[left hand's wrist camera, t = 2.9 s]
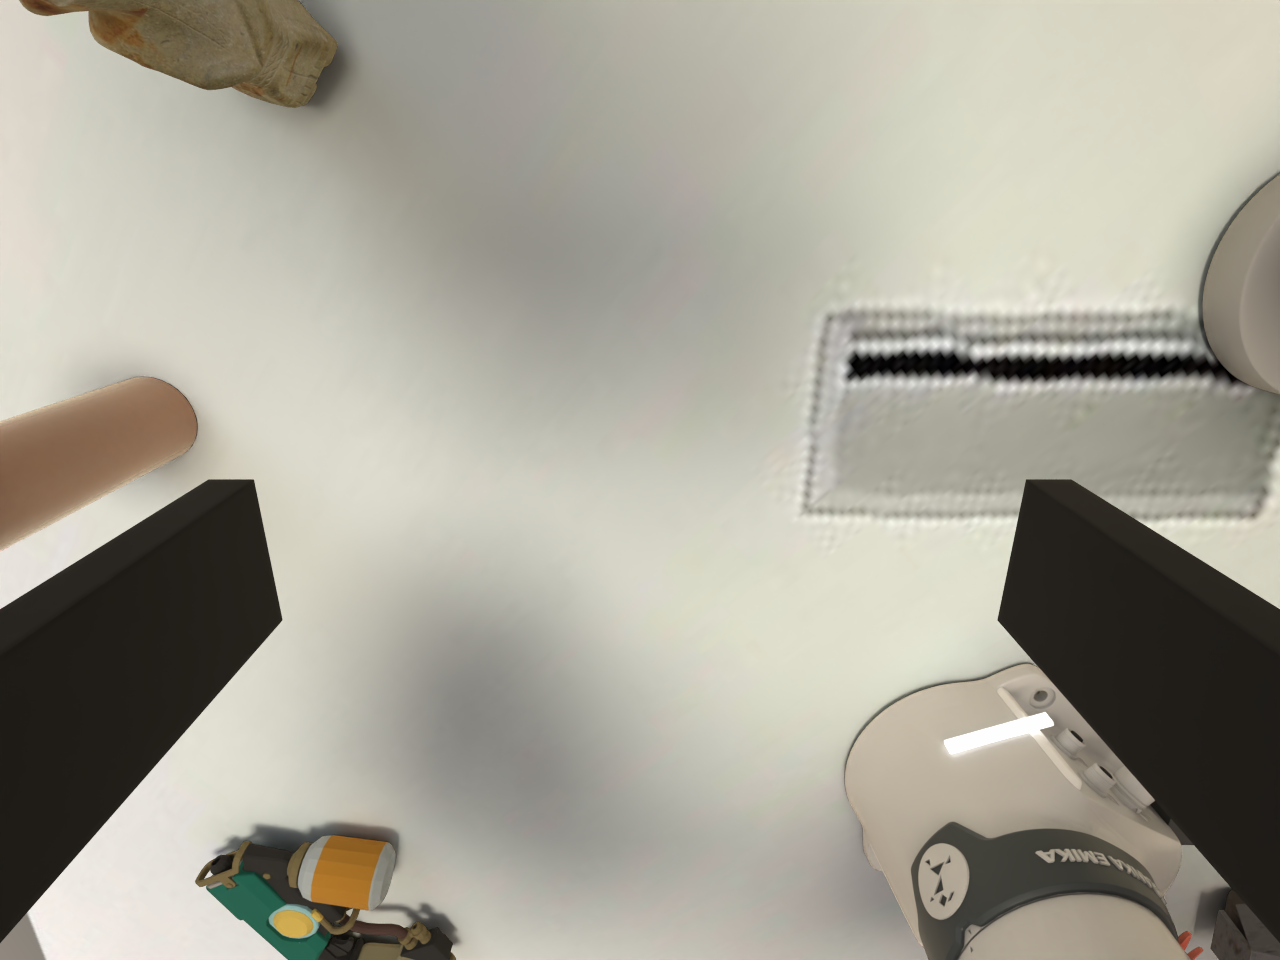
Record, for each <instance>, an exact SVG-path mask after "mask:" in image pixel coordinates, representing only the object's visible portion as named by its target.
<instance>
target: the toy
mask: <svg viewBox="0 0 1280 960" xmlns="http://www.w3.org/2000/svg"><path fill="white" fill-rule="evenodd" d="M1211 949H1212V951H1213V952H1214V953H1215V955H1216V956H1217V957H1218V959H1219V960H1280V943H1279V942H1278V940H1277V939H1276V938H1275V937H1274V936H1273V935H1272V934H1271V932H1270V931H1269V930H1268V929H1267V928H1266V927H1265V926H1264V924H1263V923H1262V922H1261V921H1260V920H1259V919H1258V918H1257V916H1256V915H1255V914H1254V913H1253V912H1252V911H1251V910H1250V908H1249V907H1248V906H1247V905H1246V904H1245V903H1244V902H1243V900H1242V899H1241V898H1240V897H1239V896H1238V895H1237V894H1236V892H1235V891H1234V890H1231V891H1230V892H1229V894H1228V896H1227V901H1226V906H1225V911H1224V910H1218V915H1217V920H1216V925H1215V930H1214V935H1213V939H1212V944H1211Z"/></svg>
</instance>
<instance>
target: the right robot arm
mask: <svg viewBox="0 0 1280 960" xmlns="http://www.w3.org/2000/svg"><path fill="white" fill-rule="evenodd" d="M1038 691H1040V692H1039V693H1038V694H1035V693H1037V692H1038ZM845 788H846V793H847V797H848V800H849V802H850V805H851V807H852V809H853V810H854V812H855V814H856V815H857V817H858V819H859V821H860V822H861V824H862V827H863V848H864V852H865V855H866V857H867V859H868V861H869V863H870V865H871V866H872V867H873V868H874V869H876V870H878V871H882V872H883V873H884V875H885V877H886V879H887V881H888V883H889V885H890V887H891V889H892V891H893V893H894V895H895V898H896V900H897V902H898V904H899V906H900V908H901V910H902V912H903V914H904V916H905V918H906V920H907V922H908V924H909V926H910V928H911V930H912V932H913V934H914V936H915V938H916V939H917V941H918V942H919V943H920V945H921V946H922V947H924V949H925V951H926V954H927V956H928V959H929V960H1194V959H1195V958H1196V957H1197V956H1198V955H1199V954H1200V953H1201V952H1202V951H1203V949H1202V948H1201V947H1198V948H1196V949H1194V950H1192V951H1191V952H1189V953H1188V954H1186V952H1185V951H1184V950H1185V948H1186V946H1187V945H1188V943H1189V941H1190V939H1191V937H1192V935H1191V933H1190V932H1188V931H1186V932H1184V933H1182V934H1181V935H1180V936H1179V937H1178V935H1177V932H1176V929H1175V926H1174V924H1173V921H1172V919H1171V917H1170V914H1169V912H1168V910H1167V908H1166V904H1167V903H1166V901H1165V900H1164V898H1163V896H1164V895H1165V893H1166V892H1167V890H1168V889H1169V887H1170V886H1171V884H1172V883H1173V881H1174V879H1175V877H1176V876H1177V873H1178V871H1179V868H1180V864H1181V859H1182V848H1181V845H1194V844H1193V843H1192V842H1191V841H1190V840H1189V839H1188V837H1187V836H1186V835H1185V834H1184V833H1183V832H1182V831H1181V829H1180V828H1179V827H1178V826H1177V825H1176V824H1175V823H1174V821H1173V820H1172V819H1171V818H1170V817H1169V816H1168V815H1167V813H1166V812H1165V811H1164V810H1163V809H1162V808H1161V807H1160V805H1159V804H1158V803H1157V802H1156V801H1155V800H1154V799H1153V797H1152V796H1151V795H1150V794H1149V793H1148V792H1147V791H1146V789H1145V788H1144V787H1143V786H1142V785H1141V784H1140V783H1139V781H1138V780H1137V779H1136V778H1135V777H1134V776H1133V775H1132V773H1131V772H1130V771H1129V770H1128V769H1127V768H1126V767H1125V765H1124V764H1123V763H1122V762H1121V761H1120V760H1119V759H1118V757H1117V756H1116V755H1115V754H1114V753H1113V752H1112V751H1111V749H1110V748H1109V747H1108V746H1107V745H1106V744H1105V743H1104V741H1103V740H1102V739H1101V738H1100V737H1099V736H1098V735H1097V733H1096V732H1095V731H1094V730H1093V729H1092V728H1091V727H1090V725H1089V724H1088V723H1087V722H1086V721H1085V720H1084V719H1083V717H1082V716H1081V715H1080V714H1079V713H1078V712H1077V711H1076V709H1075V708H1074V707H1073V706H1072V705H1071V704H1070V702H1069V701H1068V700H1067V699H1066V698H1065V697H1064V696H1063V694H1062V693H1061V692H1060V691H1059V690H1058V689H1057V688H1056V686H1055V685H1054V684H1053V683H1052V682H1051V681H1050V680H1049V678H1048V677H1047V676H1046V675H1045V674H1044V673H1043V672H1042V670H1041V669H1040V668H1038V667H1037V666H1035V665H1032V664H1021V665H1017V666H1014V667H1011V668H1008V669H1006V670H1003V671H1001V672H999V673H996V674H994V675H992V676H990V677H988V678H985V679H981V680H977V681H970V682H959V683H950V684H944V685H939V686H935V687H931V688H927V689H924V690H921V691H919V692H916V693H914V694H911V695H909V696H907V697H905V698H903V699H901V700H899V701H897V702H896V703H894V704H893V705H891V706H889V707H888V708H887V709H885V710H884V711H883V712H881V713H880V714H879V715H878V716H877V717H876V718H874V719H873V720H872V721H871V722H870V723H869V724H868V726H867V727H866V728H865V729H864V730H863V731H862V733H861V734H860V736H859V737H858V739H857V740H856V742H855V744H854V746H853V748H852V750H851V752H850V754H849V757H848V760H847V764H846V770H845Z"/></svg>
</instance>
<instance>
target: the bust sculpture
mask: <svg viewBox="0 0 1280 960" xmlns="http://www.w3.org/2000/svg"><path fill="white" fill-rule="evenodd" d="M1203 322H1204V327H1205V332H1206V336H1207V339H1208V342H1209V344H1210V346H1211V348H1212V350H1213V352H1214V354H1215V356H1216V357H1217V359H1218V360H1219V361H1220V363H1221V364H1222V365H1223V366H1224V367H1225V368H1226V369H1227V370H1228V371H1229V372H1230V373H1231V374H1232V375H1233V376H1235V377H1236V378H1238V379H1239V380H1241V381H1242V382H1244V383H1246V384H1248V385H1251V386H1253V387H1256V388H1259V389H1262V390H1265V391H1269V392H1272V393H1276V394H1279V395H1280V174H1279V175H1278V176H1277V177H1275V178H1274V179H1273V180H1271V181H1270V182H1269V183H1268V184H1267V185H1265V186H1264V187H1263V188H1262V189H1261V190H1260V191H1259V192H1258V193H1257V194H1256V195H1255V196H1254V197H1253V198H1252V199H1251V200H1250V201H1249V202H1248V203H1247V204H1246V205H1245V206H1244V208H1243V209H1242V210H1241V211H1240V213H1239V214H1238V215H1237V216H1236V218H1235V219H1234V221H1233V222H1232V223H1231V225H1230V226H1229V228H1228V229H1227V231H1226V233H1225V234H1224V236H1223V238H1222V240H1221V241H1220V243H1219V245H1218V247H1217V249H1216V252H1215V254H1214V256H1213V259H1212V261H1211V264H1210V267H1209V270H1208V274H1207V277H1206V282H1205V287H1204V293H1203Z"/></svg>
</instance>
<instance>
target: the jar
mask: <svg viewBox="0 0 1280 960" xmlns="http://www.w3.org/2000/svg"><path fill="white" fill-rule="evenodd" d="M196 434H197V422H196V417H195V414H194V411H193V409H192V407H191V405H190V404H189V402H188V401H187V399H186V398H185V397H184V396H183V395H182V394H181V393H180V392H179V391H178V390H177V389H175V388H174V387H173V386H171V385H169V384H168V383H166V382H164V381H161V380H158V379H155V378H151V377H135V378H130V379H127V380H124V381H121V382H118V383H115V384H112V385H109V386H106V387H103V388H100V389H97V390H94V391H91V392H88V393H85V394H82V395H79V396H75V397H72V398H69V399H66V400H63V401H60V402H57V403H54V404H51V405H48V406H45V407H42V408H39V409H36V410H33V411H30V412H27V413H24V414H21V415H18V416H15V417H12V418H8V419H5V420H2V421H0V551H2V550H4V549H6V548H8V547H10V546H12V545H14V544H16V543H17V542H19V541H21V540H23V539H25V538H27V537H29V536H31V535H32V534H34V533H36V532H38V531H40V530H42V529H44V528H46V527H47V526H49V525H51V524H53V523H55V522H57V521H59V520H61V519H62V518H64V517H66V516H68V515H70V514H72V513H74V512H76V511H78V510H79V509H81V508H83V507H85V506H87V505H89V504H91V503H93V502H94V501H96V500H98V499H100V498H102V497H104V496H106V495H108V494H109V493H111V492H113V491H115V490H117V489H119V488H121V487H123V486H125V485H126V484H128V483H130V482H132V481H134V480H136V479H138V478H140V477H141V476H143V475H145V474H147V473H149V472H151V471H153V470H155V469H156V468H158V467H160V466H162V465H164V464H166V463H168V462H170V461H171V460H173V459H175V458H177V457H179V456H181V455H183V454H184V453H185V452H187V451H188V450H189V449H190V447H191V446H192V445H193V443H194V441H195V438H196Z"/></svg>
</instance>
